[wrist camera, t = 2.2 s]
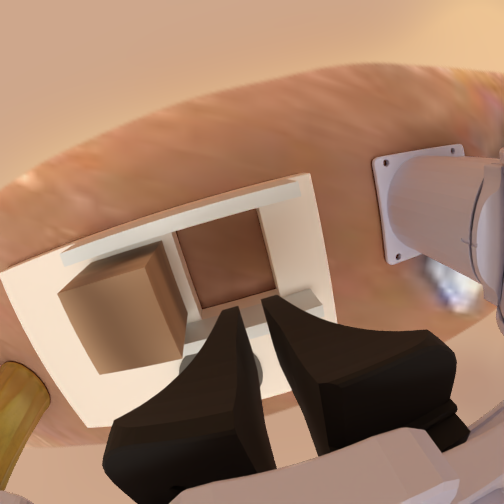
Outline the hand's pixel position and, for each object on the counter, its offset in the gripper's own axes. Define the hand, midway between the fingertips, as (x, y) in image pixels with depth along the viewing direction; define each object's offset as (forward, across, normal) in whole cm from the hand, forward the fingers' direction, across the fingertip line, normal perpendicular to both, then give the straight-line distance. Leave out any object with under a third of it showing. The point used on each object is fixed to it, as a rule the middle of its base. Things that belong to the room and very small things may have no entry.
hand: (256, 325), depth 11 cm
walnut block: (+8, +6, 0) cm, 10 cm away
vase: (+10, +24, +7) cm, 26 cm away
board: (+9, +6, +4) cm, 12 cm away
